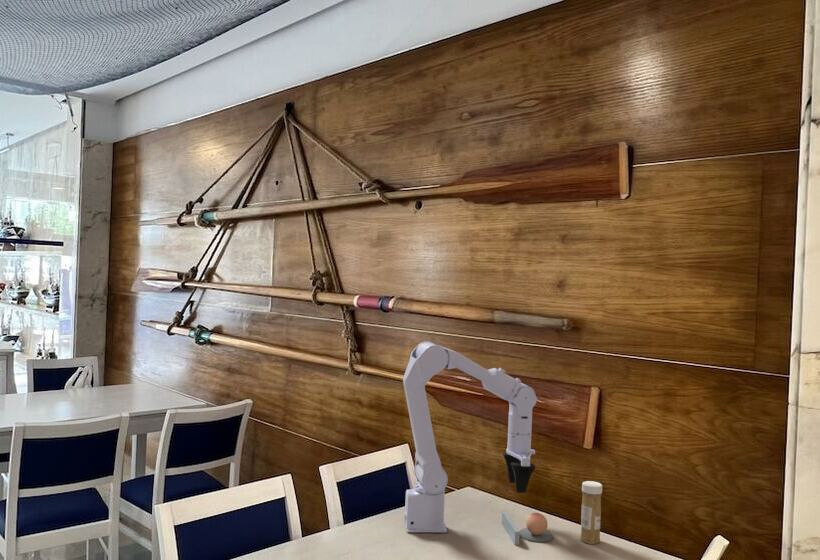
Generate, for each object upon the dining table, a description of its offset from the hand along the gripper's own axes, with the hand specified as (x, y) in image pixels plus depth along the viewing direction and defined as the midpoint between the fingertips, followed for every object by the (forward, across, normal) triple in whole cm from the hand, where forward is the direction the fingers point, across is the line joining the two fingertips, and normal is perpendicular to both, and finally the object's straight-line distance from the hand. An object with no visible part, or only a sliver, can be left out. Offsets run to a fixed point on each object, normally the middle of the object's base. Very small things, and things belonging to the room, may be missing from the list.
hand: (517, 487), depth 163 cm
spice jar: (+9, -10, -15) cm, 20 cm away
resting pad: (+9, -8, -3) cm, 12 cm away
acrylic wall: (+9, -7, +3) cm, 12 cm away
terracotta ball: (+9, -8, -3) cm, 12 cm away
